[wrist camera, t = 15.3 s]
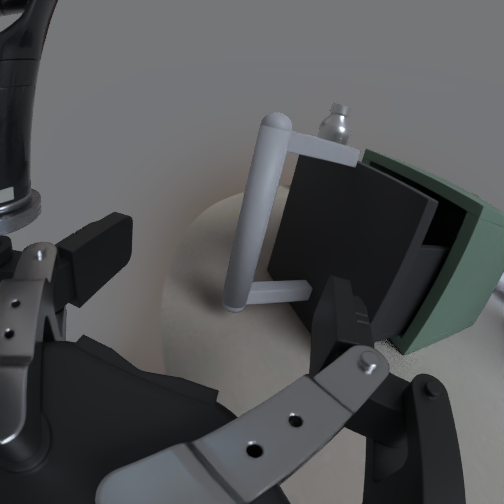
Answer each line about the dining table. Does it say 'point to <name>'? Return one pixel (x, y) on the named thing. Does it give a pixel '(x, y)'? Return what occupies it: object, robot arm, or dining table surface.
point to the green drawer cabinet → (451, 255)
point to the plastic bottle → (336, 125)
